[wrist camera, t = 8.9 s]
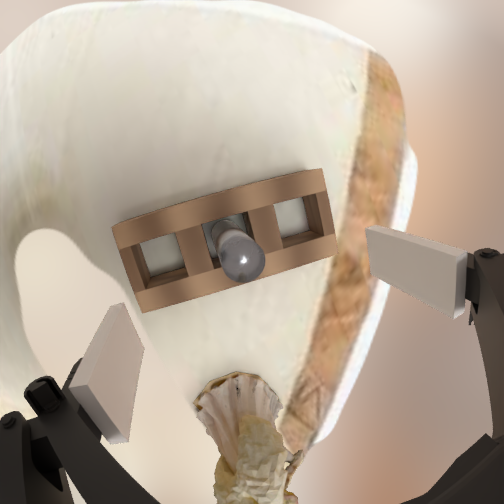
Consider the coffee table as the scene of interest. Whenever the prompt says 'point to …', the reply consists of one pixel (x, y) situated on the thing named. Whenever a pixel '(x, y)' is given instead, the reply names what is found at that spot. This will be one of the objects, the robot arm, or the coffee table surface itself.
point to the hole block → (216, 207)
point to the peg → (237, 252)
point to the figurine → (247, 441)
